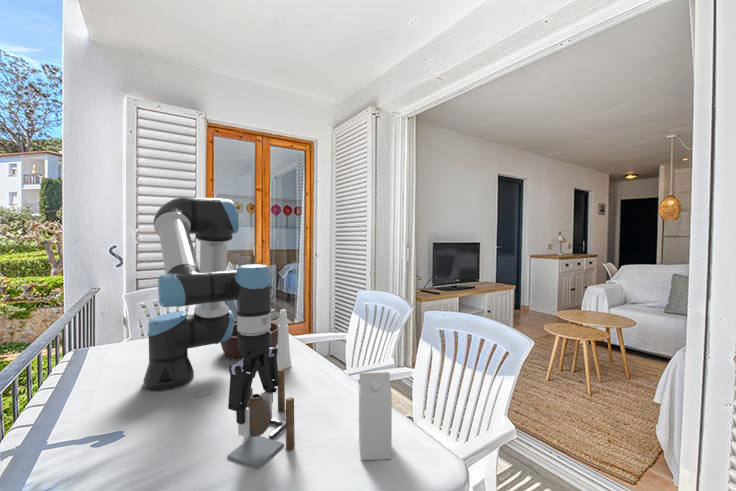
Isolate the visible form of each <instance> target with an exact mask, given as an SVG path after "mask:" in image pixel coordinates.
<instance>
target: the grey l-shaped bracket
mask: <svg viewBox="0 0 736 491" xmlns="http://www.w3.org/2000/svg"><path fill="white" fill-rule="evenodd" d="M270 425H273V426H276V429H275V430H273V431H272V432H271V433H269V435H268V439H272V440H274V439H275V438H276V437H277V436H279V435H280V434H281V433H283V431H284V430H285V431H286V421H284V420H281V419H277V418H273V417H272V420H271V421H270Z"/></svg>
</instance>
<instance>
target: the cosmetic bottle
mask: <svg viewBox="0 0 736 491" xmlns="http://www.w3.org/2000/svg"><path fill="white" fill-rule="evenodd" d="M278 317H279V323H278V344H277V349H278V351H277V367H278V369H284V370H286V369H289V368H291V367H292V364H293V363H292V358H291V351H290V337H289V336H290V335H289V324H288V321H287V320H288V318H287V317H288V312H287V309H285V308H283V309H280V312H279V316H278Z"/></svg>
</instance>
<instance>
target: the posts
mask: <svg viewBox="0 0 736 491" xmlns="http://www.w3.org/2000/svg"><path fill="white" fill-rule="evenodd" d="M285 370H286V369H278V378H279V385H278V386H277V412H279V413H283V412H285V422H286V429H285V450H287V451H289V452H290V451H292V450H294V449H295V445H296V444H295V443H296V442H295V398H294V397H286V393H285V392H286V390H285V386H286V383H285V382H286V381H285V380H286V379H285V378H286V377H285V375H286V374H285V372H286V371H285ZM253 394H254V393H253V387H251V389H250V394H249V398H248V401H249V399H250V396H251V395H253ZM248 438H251V437H250V436H249V437H248Z"/></svg>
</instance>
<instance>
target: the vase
mask: <svg viewBox="0 0 736 491" xmlns="http://www.w3.org/2000/svg"><path fill="white" fill-rule="evenodd" d="M247 407H248V408H249V409H250V437H249V438H251V437H257V436H262V435H264V433H265V432H267V430H268V429H269V427H270V425H271V424H270V421H271V411H270V407H269V405H268V404H267V402H266V401H265V400H264V399H263V398H262V396H261V393H253V395H251V396H250V399H249V401H248V403H247Z"/></svg>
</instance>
